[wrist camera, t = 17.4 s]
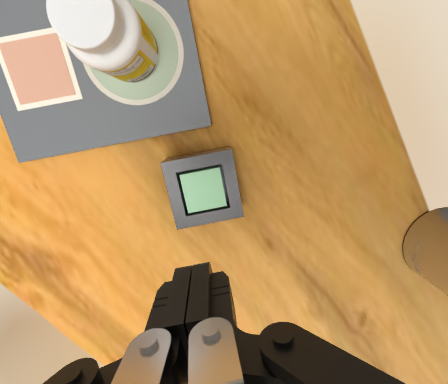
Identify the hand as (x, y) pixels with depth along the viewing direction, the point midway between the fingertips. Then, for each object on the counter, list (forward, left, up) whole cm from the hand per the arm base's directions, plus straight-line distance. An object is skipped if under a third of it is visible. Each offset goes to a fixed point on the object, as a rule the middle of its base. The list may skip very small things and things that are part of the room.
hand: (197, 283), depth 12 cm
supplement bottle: (+4, -14, -18) cm, 23 cm away
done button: (0, 0, -18) cm, 18 cm away
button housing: (0, 0, -19) cm, 19 cm away
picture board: (+8, -14, -19) cm, 25 cm away
